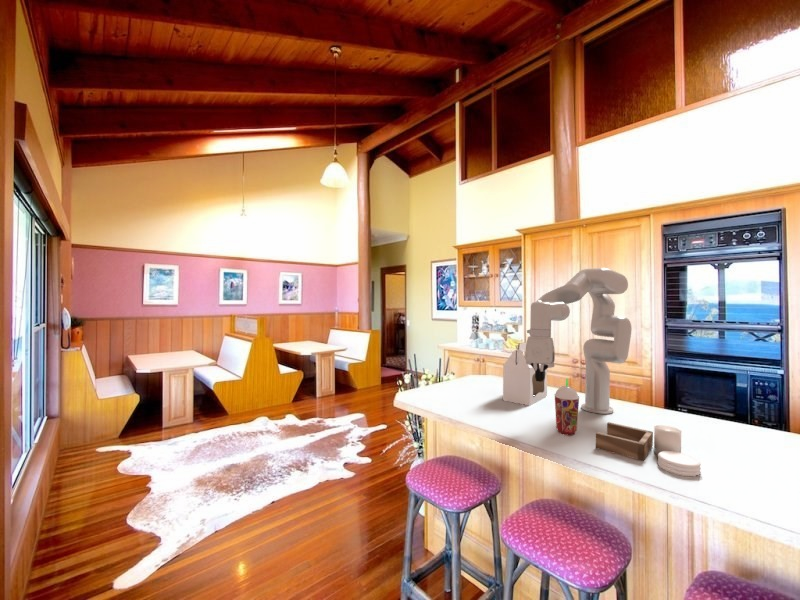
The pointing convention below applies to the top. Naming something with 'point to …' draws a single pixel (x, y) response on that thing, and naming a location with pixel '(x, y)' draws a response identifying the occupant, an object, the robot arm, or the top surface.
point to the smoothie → (566, 409)
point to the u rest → (625, 441)
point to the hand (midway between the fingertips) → (539, 380)
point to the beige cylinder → (667, 439)
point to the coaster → (679, 463)
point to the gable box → (522, 379)
